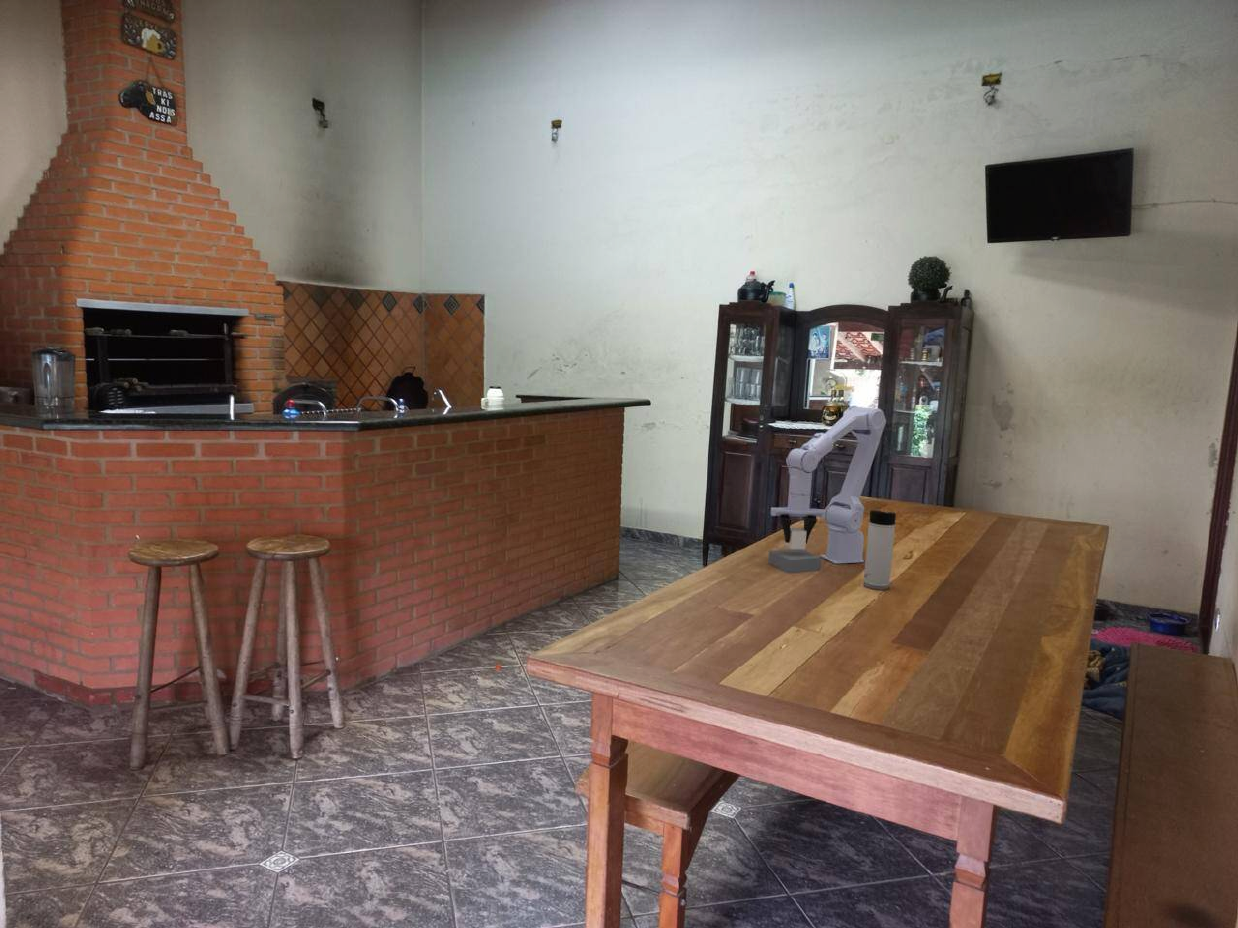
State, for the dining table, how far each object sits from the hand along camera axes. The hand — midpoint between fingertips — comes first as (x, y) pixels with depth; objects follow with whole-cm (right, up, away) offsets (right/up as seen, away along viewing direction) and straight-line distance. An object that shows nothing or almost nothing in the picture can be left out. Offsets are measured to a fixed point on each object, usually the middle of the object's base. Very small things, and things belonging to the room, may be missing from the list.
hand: (795, 542), depth 212 cm
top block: (0, -1, 0) cm, 1 cm away
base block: (0, -7, +1) cm, 7 cm away
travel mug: (+17, -10, -14) cm, 24 cm away
